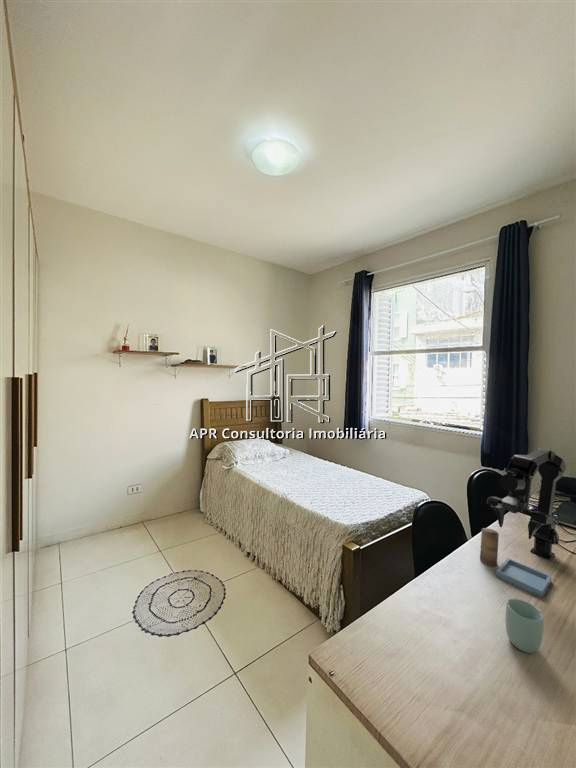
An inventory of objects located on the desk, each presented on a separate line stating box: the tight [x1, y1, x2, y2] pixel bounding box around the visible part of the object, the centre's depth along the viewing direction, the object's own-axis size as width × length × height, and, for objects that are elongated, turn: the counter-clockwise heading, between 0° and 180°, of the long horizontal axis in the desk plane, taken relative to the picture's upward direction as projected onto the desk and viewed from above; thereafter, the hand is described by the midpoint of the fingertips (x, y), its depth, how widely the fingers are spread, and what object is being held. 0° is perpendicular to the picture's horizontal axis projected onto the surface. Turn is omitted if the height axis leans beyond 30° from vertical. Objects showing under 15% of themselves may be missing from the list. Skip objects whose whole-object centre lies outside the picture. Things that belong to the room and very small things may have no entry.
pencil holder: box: [479, 527, 500, 567], centre depth 118 cm, size 6×6×12 cm
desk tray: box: [495, 557, 553, 599], centre depth 109 cm, size 13×13×2 cm
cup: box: [504, 598, 545, 654], centre depth 81 cm, size 8×8×10 cm
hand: (514, 532), depth 112 cm, fingers open, 9 cm apart
